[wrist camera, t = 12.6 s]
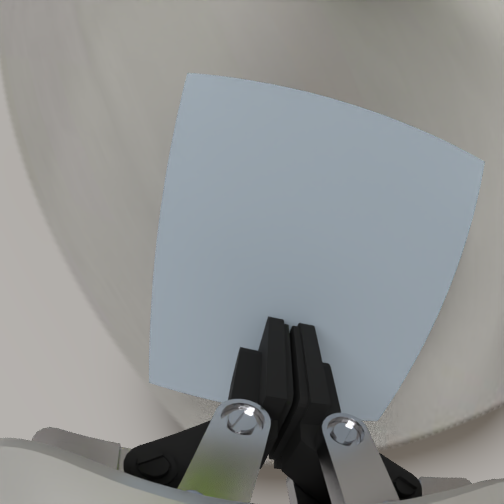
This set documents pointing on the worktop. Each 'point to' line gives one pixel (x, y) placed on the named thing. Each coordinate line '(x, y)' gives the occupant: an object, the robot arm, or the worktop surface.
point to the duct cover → (303, 237)
